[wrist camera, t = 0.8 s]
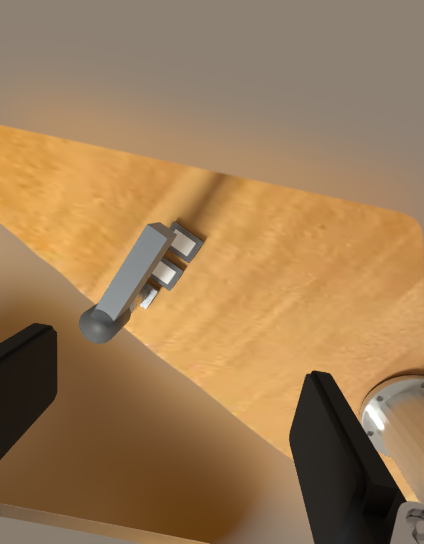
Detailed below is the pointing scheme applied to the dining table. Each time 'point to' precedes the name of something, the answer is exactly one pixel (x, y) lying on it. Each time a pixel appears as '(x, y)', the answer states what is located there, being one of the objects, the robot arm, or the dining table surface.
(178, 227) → the label plate
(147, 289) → the bar post
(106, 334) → the swing bar
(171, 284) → the label plate
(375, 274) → the dining table surface
